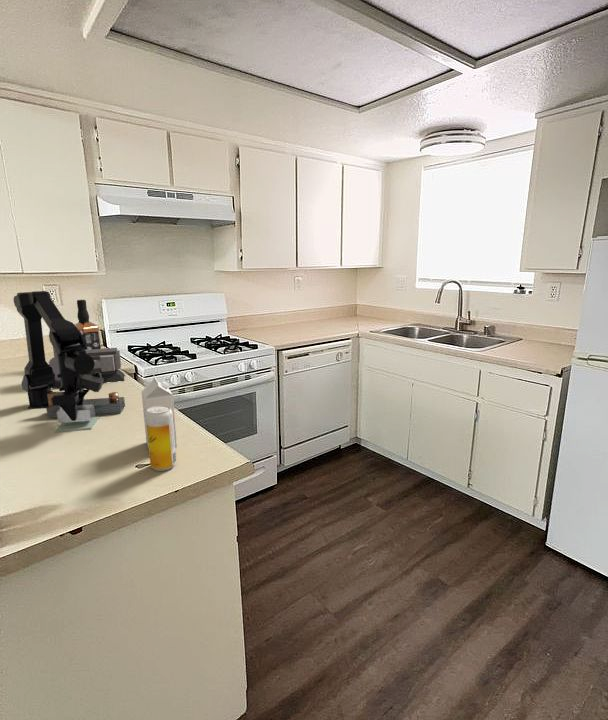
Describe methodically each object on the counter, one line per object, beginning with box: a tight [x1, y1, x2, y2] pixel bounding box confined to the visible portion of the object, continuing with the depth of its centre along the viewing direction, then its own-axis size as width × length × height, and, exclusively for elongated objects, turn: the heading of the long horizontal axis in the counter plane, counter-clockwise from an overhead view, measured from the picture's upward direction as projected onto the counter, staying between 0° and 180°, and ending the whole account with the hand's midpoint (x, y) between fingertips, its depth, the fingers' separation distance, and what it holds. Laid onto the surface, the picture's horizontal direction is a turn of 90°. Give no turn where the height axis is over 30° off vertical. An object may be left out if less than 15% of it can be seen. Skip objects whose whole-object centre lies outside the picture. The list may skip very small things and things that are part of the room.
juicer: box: [48, 323, 125, 389], centre depth 170 cm, size 30×16×24 cm, turn 112°
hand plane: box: [45, 391, 126, 419], centre depth 137 cm, size 22×7×8 cm, turn 102°
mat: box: [54, 416, 100, 433], centre depth 127 cm, size 10×9×1 cm
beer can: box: [146, 405, 177, 472], centre depth 100 cm, size 6×6×15 cm
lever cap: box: [57, 404, 96, 424], centre depth 127 cm, size 9×5×4 cm, turn 102°
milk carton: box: [141, 375, 178, 449], centre depth 112 cm, size 7×7×19 cm
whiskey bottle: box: [75, 299, 102, 350], centre depth 191 cm, size 10×10×32 cm
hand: (76, 417), depth 127 cm, fingers closed on lever cap, 5 cm apart
